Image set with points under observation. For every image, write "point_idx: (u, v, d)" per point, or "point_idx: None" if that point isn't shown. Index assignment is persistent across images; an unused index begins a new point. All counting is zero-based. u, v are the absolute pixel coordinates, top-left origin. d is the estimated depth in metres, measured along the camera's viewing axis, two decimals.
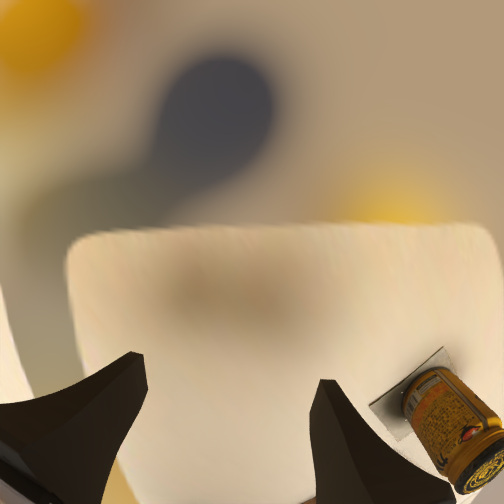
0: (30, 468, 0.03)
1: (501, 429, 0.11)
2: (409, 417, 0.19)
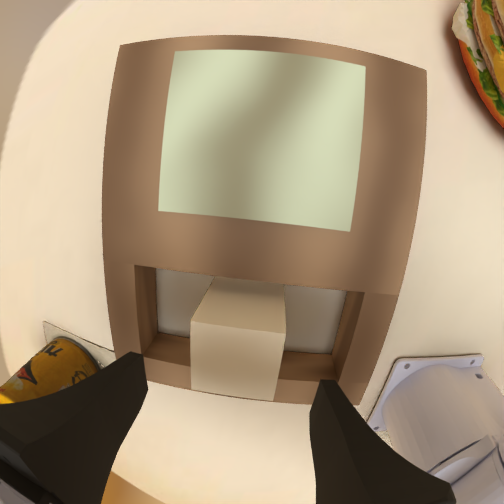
0: (30, 468, 0.03)
1: None
2: None
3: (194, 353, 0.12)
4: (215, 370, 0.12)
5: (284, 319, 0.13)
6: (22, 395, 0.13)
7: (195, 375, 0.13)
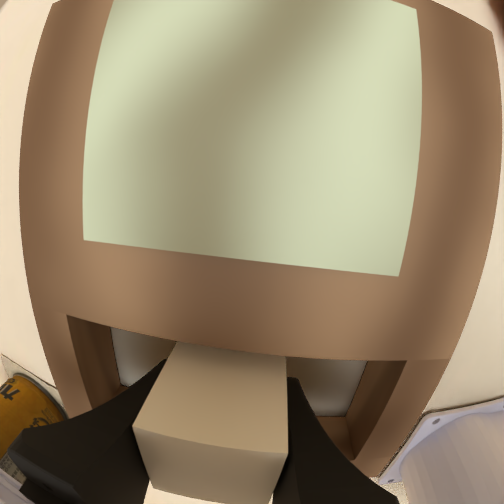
0: (82, 497, 0.03)
1: None
2: None
3: (147, 459, 0.07)
4: (181, 478, 0.07)
5: (285, 419, 0.07)
6: None
7: (155, 478, 0.07)
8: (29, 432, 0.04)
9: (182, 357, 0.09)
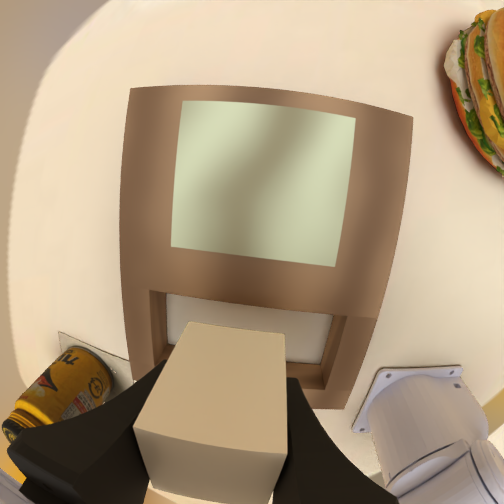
0: (82, 497, 0.03)
1: None
2: (102, 403, 0.22)
3: (148, 459, 0.07)
4: (181, 478, 0.07)
5: (285, 420, 0.07)
6: (44, 401, 0.15)
7: (155, 478, 0.07)
8: (29, 431, 0.04)
9: (182, 358, 0.09)
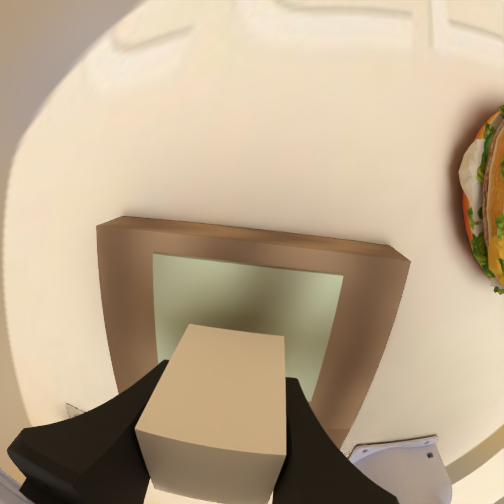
0: (82, 497, 0.03)
1: None
2: None
3: (149, 460, 0.07)
4: (182, 479, 0.07)
5: (284, 422, 0.07)
6: None
7: (156, 479, 0.07)
8: (29, 432, 0.04)
9: (183, 360, 0.09)
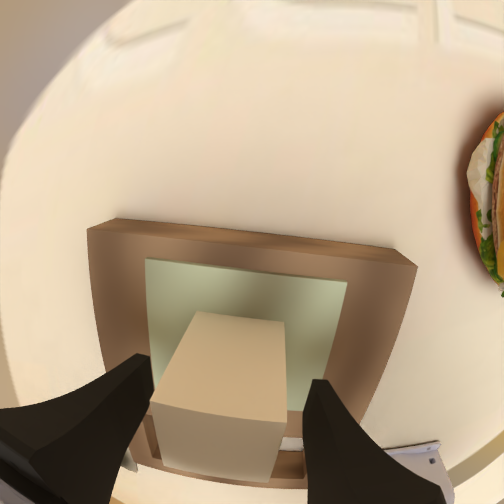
0: (39, 474, 0.03)
1: None
2: None
3: (161, 434, 0.08)
4: (190, 453, 0.08)
5: (284, 394, 0.08)
6: None
7: (166, 454, 0.08)
8: None
9: (192, 342, 0.11)
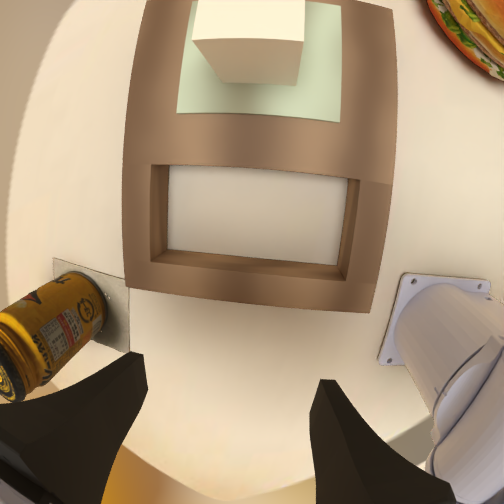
0: (30, 468, 0.03)
1: None
2: (93, 335, 0.21)
3: None
4: (226, 6, 0.08)
5: None
6: (23, 312, 0.14)
7: (200, 18, 0.08)
8: None
9: None
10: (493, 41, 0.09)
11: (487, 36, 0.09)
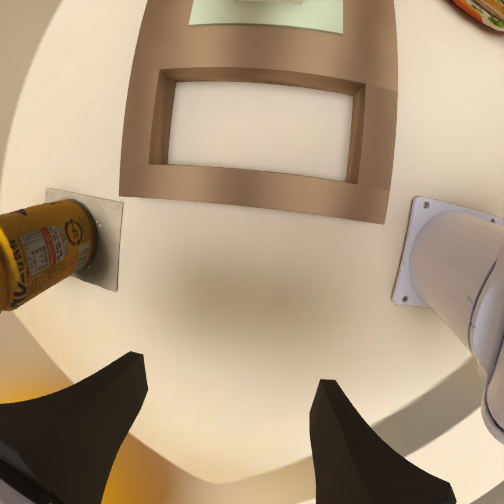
0: (30, 468, 0.03)
1: None
2: (78, 264, 0.19)
3: None
4: None
5: None
6: (6, 219, 0.13)
7: None
8: None
9: None
10: None
11: None
